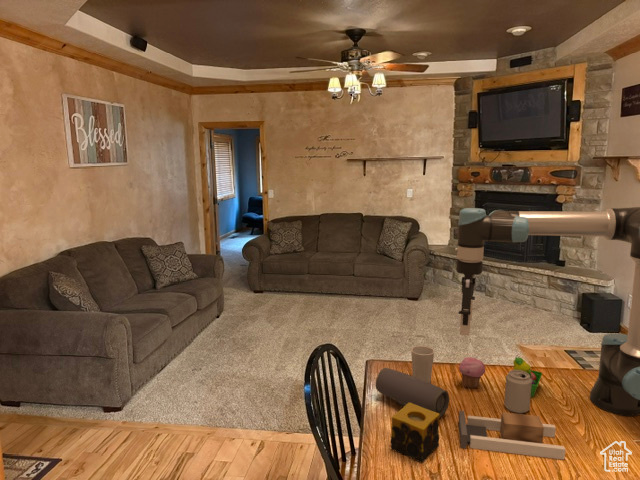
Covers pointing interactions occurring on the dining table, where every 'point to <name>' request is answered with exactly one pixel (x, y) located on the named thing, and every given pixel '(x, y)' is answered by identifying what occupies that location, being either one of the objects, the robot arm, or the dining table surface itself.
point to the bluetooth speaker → (412, 391)
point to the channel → (513, 445)
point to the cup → (422, 362)
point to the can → (518, 391)
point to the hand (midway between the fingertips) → (465, 327)
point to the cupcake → (471, 371)
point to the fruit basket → (534, 375)
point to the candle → (415, 432)
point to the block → (521, 427)
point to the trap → (468, 430)
